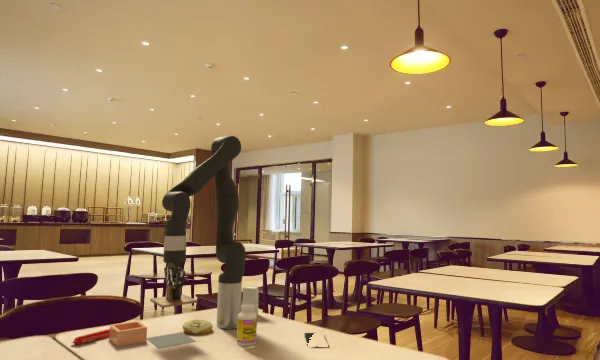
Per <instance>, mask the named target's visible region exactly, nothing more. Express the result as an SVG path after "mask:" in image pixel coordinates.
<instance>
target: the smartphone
mask: <svg viewBox="0 0 600 360" xmlns="http://www.w3.org/2000/svg"><path fill="white" fill-rule="evenodd" d="M314 333H315V332H305V333H304V334H303V336H304V335H305V336H304V339H306V340H305V343H306V342H307V343H309V340H311V339H309V338H310V337H312V335H313V334H314ZM307 346H308V344H306V347H307Z"/></svg>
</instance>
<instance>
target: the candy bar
mask: <svg viewBox="0 0 600 360" xmlns="http://www.w3.org/2000/svg"><path fill="white" fill-rule="evenodd" d="M109 336H110V328H105V329H103V330H99V331H96V332H91V333H87V334H83V335H79V336H77V337H75V338H74V339H73V341H72V342H71V344H73V345H75V346H76V345H83V344H88V343H92V342H94V341H98V340H102V339H105V338H109Z"/></svg>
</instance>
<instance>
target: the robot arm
mask: <svg viewBox="0 0 600 360" xmlns="http://www.w3.org/2000/svg"><path fill="white" fill-rule="evenodd" d="M210 147H211V148H210V150H211V151H210V152H211V156H210V157H209V158H207V159H206V160H205V161H204V162H201V164H199V165H197V166H196V167H195V168H194V169H193V170H191V172H189V173H188V175H187V176H185V178H184V179H183V180H182V181H181V182H179V183H178V184H176V185H175V186H173V187H172V188H171V189H170V190H168V191H167V192H166V193H165V194H164V196H163V197H162V200H161V201H162V202H161V204H162V207H163V209H164V210H166V211H168V212H171V216H170V218H168V219H167V220H166V221H165V224H164V225H165V226H164V228H165V229H164V240H163V257H162V259H163V261H162V262H163V263H165V264H167V267H164V268H163V270H164V271H163V272H164V280H165V285H169V284H173V298H172V299H173V300H177V299H179V294H180V288H181V289H182V288H183V287H184V282H185V277H186V271H185V270H183V268H182V267H183V266H182V263H185V262H186V261H187V260H186V259H187V237H186V236H187V235H186V232H187V221H188V218H189V214H190V211H191V210H190V209H191V205H192V203H191V198H190V197H193V196H195V195H197V194H199V192H200V191H201V190H202V189H203V188H204V187H205V186H206V185H207V184H208V183H209V182H210V180H211V179H212V178H213V177H214V189H215V190H214V191H215V192H214V196H215V198H214V199H215V209H216V210H215V211H216V214H215V215H216V216H215V217H216V238H215V239H216V241H215V255H216V258H217V261H218V262H220V263H222V264H225V265H224V270H223V272H221V273H220V274H219V275H218V279H217V280H218V283H217V285H218V286H217V303H216V304H217V309H216V327H217V328H220V329H222V330H234V329H237V322H238V314H239V313H240V312H241V311H242V310H241V305H243V300H242V294H243V288H242V287H243V276H244V274H245V271H246V270H245V269H246V267H245V266H246V257H247V256H246V253H247V252H246V248H245V246H244V244H243V243H242V242H241V241H234V232H233V230H234V224H235V220H236V219H237V216H238V213H239V209H240V201H239V199H240V197H239V190H238V187H237V185H236V183H235V181H234V179H233V177H232V175H231V172H230V164H229V163H230V162H232V161H233V160H234V159H236V158H237V157H238V156H239V155H240V154H241V151H242V143H241V141H240V139H239V138H238V137H237V136H234V135H225V136H220V137H216V138H214V139H213V140H212V142H211V146H210Z"/></svg>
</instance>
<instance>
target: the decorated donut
mask: <svg viewBox="0 0 600 360" xmlns="http://www.w3.org/2000/svg"><path fill="white" fill-rule="evenodd" d="M213 328H214V327H213V323H212V322H211V321H208V320H206V319H205V320H204V319H191V320H190V321H189V320H188V321H186V322H184V323H183V324H182V329H183V333H184V334H186V335H187V334H188V335H206V334H207V335H208V334H209V333H210V332H212V331H213V330H212V329H213Z"/></svg>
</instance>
